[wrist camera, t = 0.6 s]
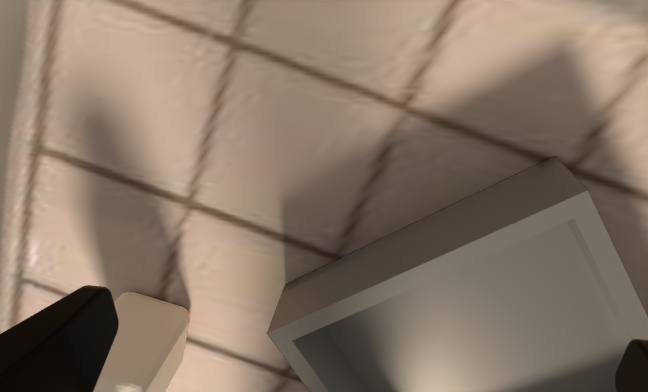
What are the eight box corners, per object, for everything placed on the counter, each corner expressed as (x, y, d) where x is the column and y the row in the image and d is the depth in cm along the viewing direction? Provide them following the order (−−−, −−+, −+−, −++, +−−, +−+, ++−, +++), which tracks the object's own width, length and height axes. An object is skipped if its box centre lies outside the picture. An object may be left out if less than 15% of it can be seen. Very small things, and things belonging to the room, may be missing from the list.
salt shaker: (117, 341, 29) (-4, 495, 20) (124, 284, 27) (-5, 424, 18) (184, 361, 29) (92, 525, 20) (195, 305, 27) (99, 456, 18)
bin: (415, 468, 29) (418, 537, 26) (285, 284, 26) (267, 333, 22) (668, 389, 25) (714, 458, 21) (555, 155, 21) (587, 190, 18)
